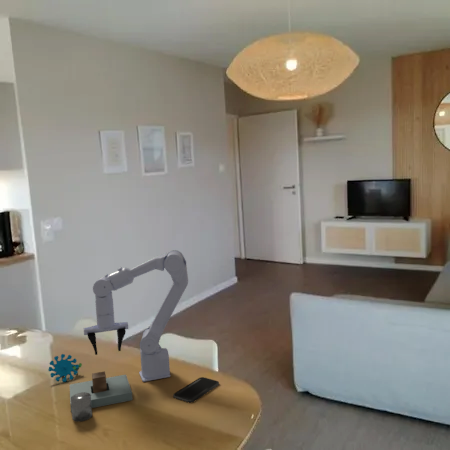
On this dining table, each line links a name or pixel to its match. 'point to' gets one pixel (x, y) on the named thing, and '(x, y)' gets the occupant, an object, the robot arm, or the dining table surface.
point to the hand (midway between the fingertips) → (107, 351)
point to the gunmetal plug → (81, 406)
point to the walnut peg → (99, 382)
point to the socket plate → (115, 391)
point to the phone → (196, 389)
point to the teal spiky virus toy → (64, 367)
